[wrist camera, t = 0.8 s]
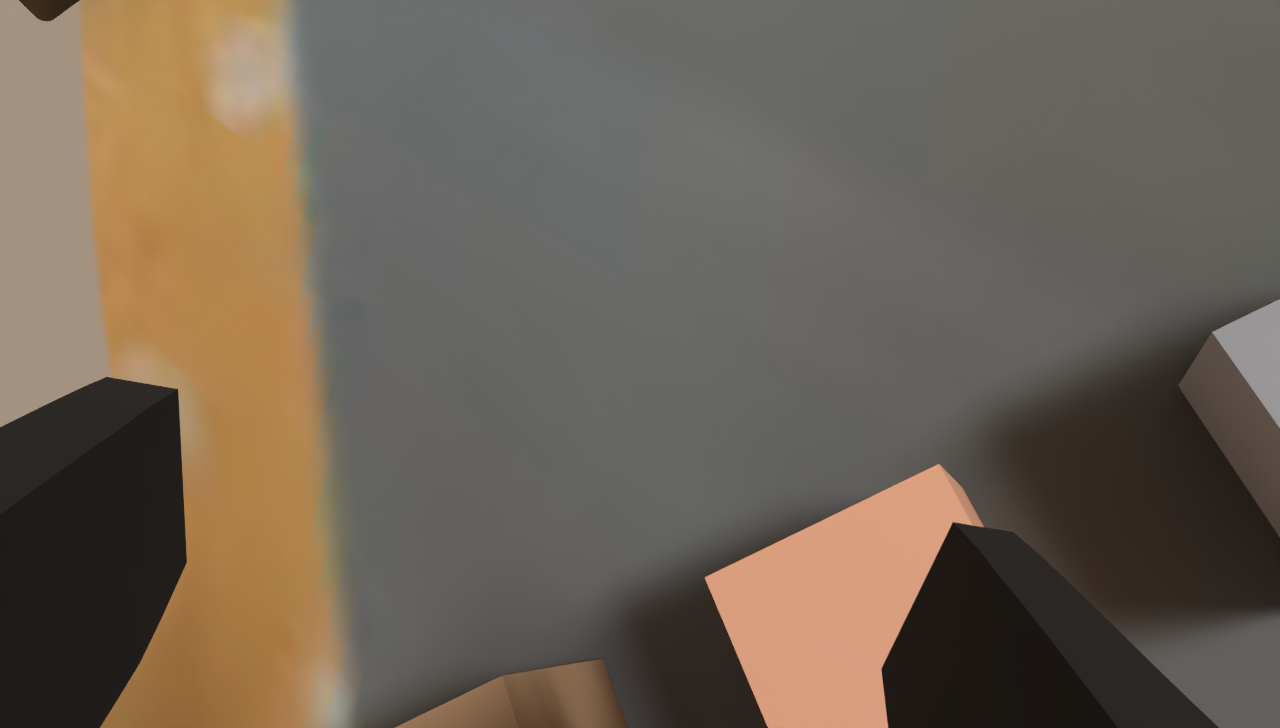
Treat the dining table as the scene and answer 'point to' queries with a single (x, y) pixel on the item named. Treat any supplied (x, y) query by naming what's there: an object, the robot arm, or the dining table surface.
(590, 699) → the walnut block
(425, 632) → the dining table surface
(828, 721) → the terracotta block
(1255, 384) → the slate block
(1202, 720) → the robot arm
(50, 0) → the phone stand
